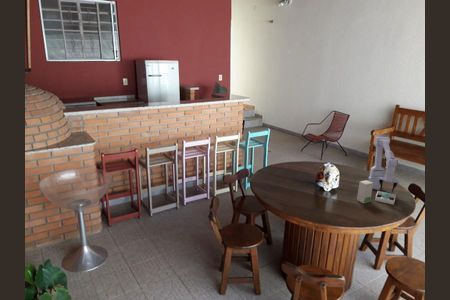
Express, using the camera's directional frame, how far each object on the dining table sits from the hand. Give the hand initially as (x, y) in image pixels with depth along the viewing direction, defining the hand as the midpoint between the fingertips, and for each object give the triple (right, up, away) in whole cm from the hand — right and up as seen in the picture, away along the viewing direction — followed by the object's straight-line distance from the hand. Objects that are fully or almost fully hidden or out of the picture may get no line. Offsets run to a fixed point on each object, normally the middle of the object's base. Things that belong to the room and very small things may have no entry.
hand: (386, 190), depth 240 cm
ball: (0, -7, +2) cm, 7 cm away
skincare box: (-18, -8, 0) cm, 20 cm away
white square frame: (0, -7, +2) cm, 8 cm away
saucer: (0, -7, +2) cm, 8 cm away
